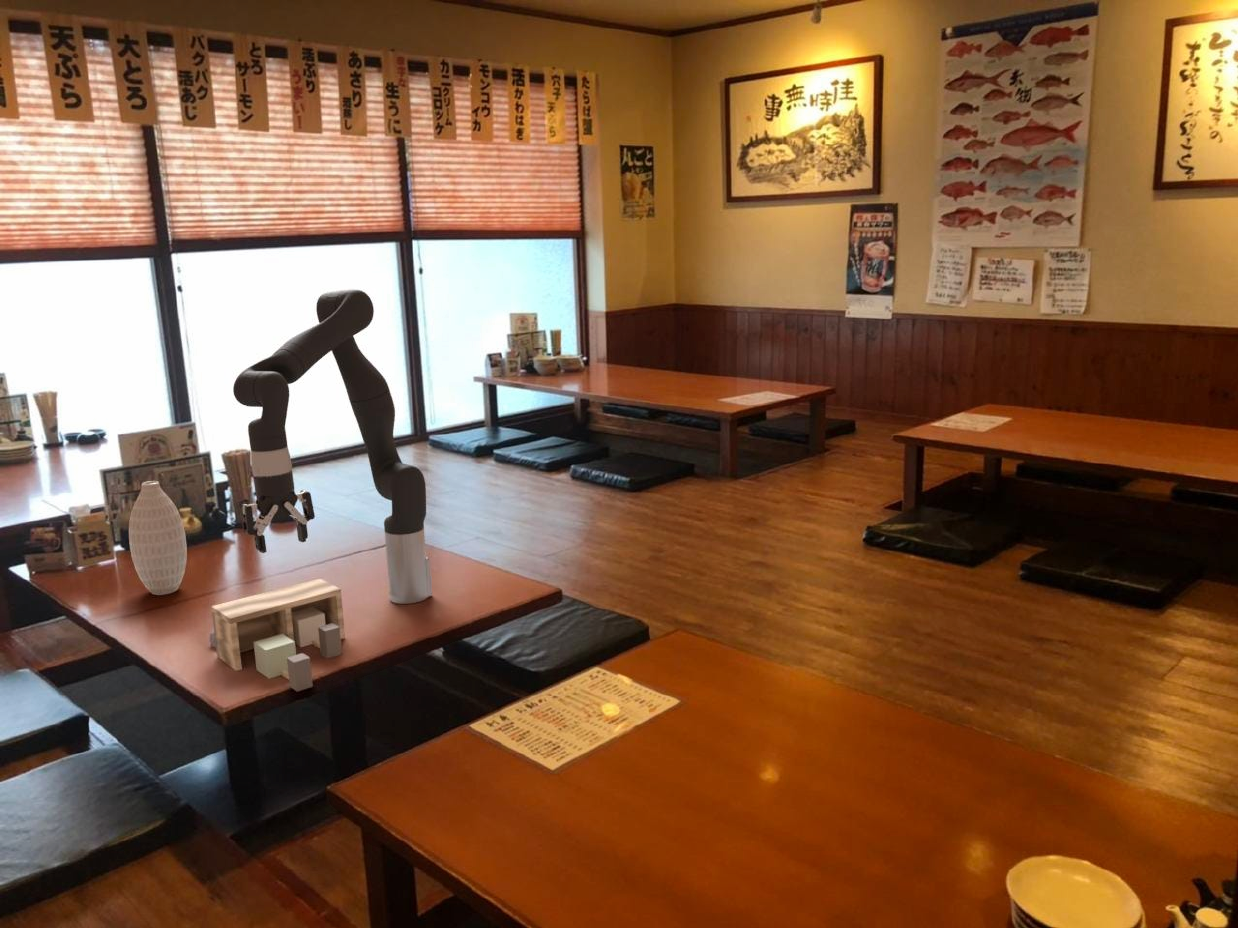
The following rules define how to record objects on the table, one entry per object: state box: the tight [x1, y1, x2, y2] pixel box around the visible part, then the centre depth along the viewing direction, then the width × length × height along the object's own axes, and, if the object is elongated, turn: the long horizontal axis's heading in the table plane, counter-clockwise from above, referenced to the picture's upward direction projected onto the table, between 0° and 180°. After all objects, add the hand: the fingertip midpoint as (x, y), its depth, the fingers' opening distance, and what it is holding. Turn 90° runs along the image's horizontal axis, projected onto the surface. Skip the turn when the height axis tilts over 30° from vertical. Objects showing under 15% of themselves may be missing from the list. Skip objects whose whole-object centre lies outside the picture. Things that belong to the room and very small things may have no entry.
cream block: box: [291, 607, 343, 659], centre depth 210 cm, size 16×6×6 cm, turn 42°
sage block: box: [253, 634, 313, 693], centre depth 195 cm, size 16×6×6 cm, turn 42°
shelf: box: [210, 578, 346, 671], centre depth 210 cm, size 10×24×11 cm, turn 132°
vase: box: [128, 480, 188, 596], centre depth 245 cm, size 13×13×28 cm
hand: (282, 546), depth 202 cm, fingers open, 8 cm apart
